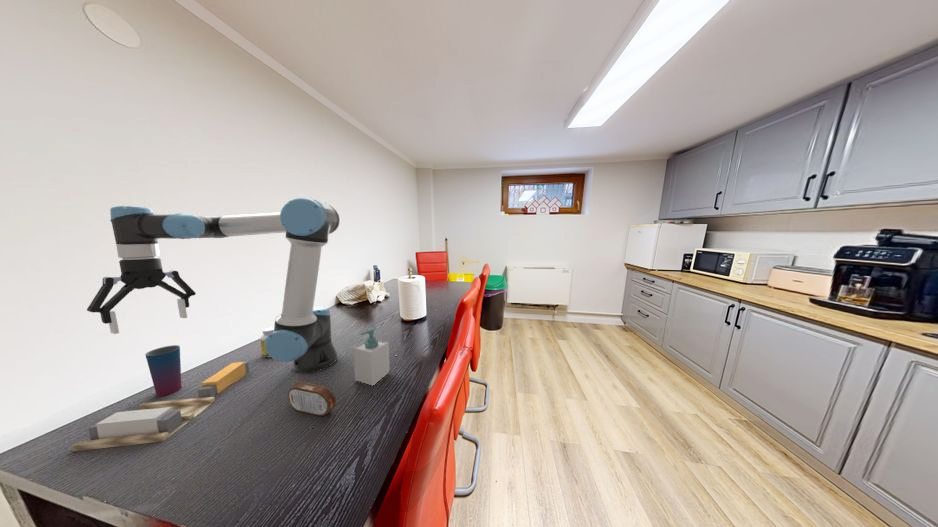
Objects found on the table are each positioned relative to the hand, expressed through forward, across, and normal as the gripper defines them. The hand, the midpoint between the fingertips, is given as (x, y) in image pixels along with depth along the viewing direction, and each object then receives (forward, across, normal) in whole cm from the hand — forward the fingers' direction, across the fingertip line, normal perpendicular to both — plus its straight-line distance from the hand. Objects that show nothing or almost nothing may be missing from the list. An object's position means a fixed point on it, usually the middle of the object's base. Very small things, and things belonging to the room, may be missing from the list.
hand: (152, 324), depth 75 cm
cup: (+24, 0, +2) cm, 24 cm away
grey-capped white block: (+23, +10, +19) cm, 32 cm away
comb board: (+24, +8, +18) cm, 30 cm away
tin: (+25, -11, +53) cm, 59 cm away
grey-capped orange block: (+24, -10, +14) cm, 29 cm away
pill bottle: (+24, -29, +5) cm, 38 cm away
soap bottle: (+25, -31, +58) cm, 70 cm away
